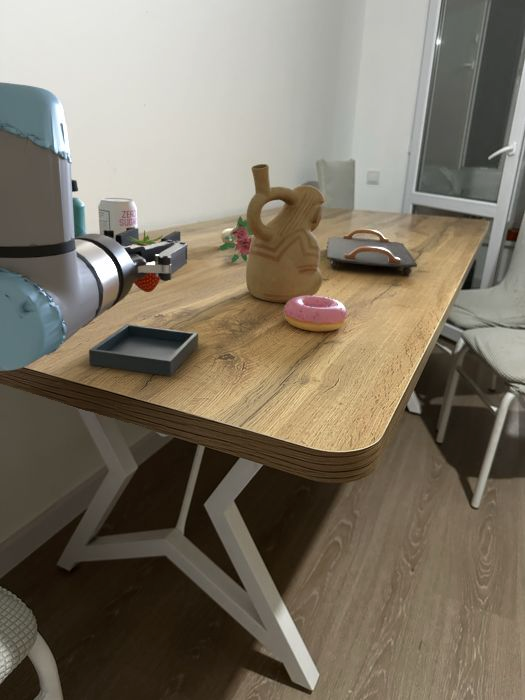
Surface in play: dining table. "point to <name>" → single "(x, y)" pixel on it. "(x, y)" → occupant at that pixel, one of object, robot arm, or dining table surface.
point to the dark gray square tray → (144, 349)
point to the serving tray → (369, 251)
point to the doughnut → (315, 313)
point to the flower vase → (237, 239)
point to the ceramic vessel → (283, 241)
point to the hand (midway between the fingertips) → (156, 239)
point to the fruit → (149, 280)
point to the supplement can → (117, 215)
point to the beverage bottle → (78, 213)
